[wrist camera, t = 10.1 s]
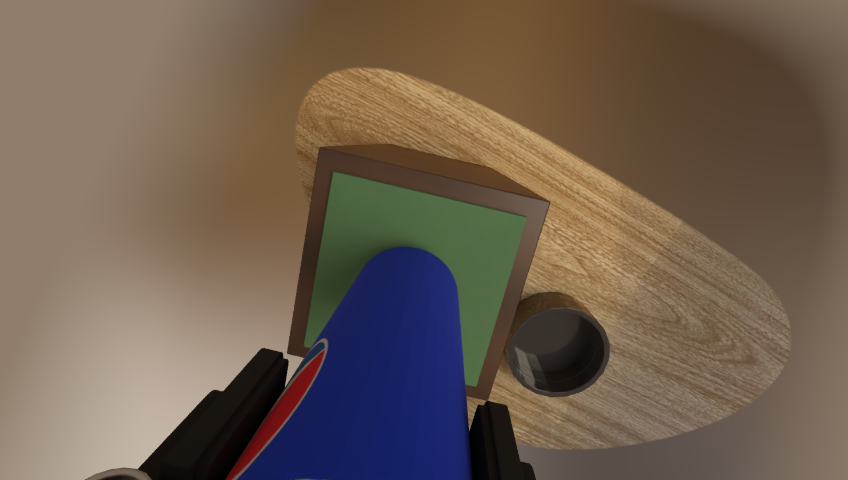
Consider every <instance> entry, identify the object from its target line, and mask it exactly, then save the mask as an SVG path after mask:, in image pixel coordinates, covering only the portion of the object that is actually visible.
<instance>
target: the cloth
mask: <svg viewBox="0 0 848 480" xmlns="http://www.w3.org/2000/svg"><path fill="white" fill-rule="evenodd" d="M526 221H527V217H526V216H523V215H519V214H515V213H511V212H506V211H502V210H498V209H494V208H489V207H485V206H481V205H477V204H473V203H468V202H464V201H460V200H456V199H451V198H447V197H443V196H439V195H435V194H430V193H426V192H422V191H418V190H414V189H409V188H405V187H401V186H397V185H392V184H388V183H384V182H380V181H376V180H371V179H367V178H363V177H359V176H355V175H350V174H346V173H342V172H338V171H334V172H333V175H332V181H331V186H330V192H329V198H328V204H327V210H326V216H325V222H324V228H323V234H322V240H321V246H320V252H319V258H318V264H317V270H316V275H315V281H314V287H313V293H312V299H311V305H310V311H309V317H308V323H307V329H306V335H305V341H304V347H308V348H311V347H312V345H313V344H314V342H315V341H316V339H317V338H318V336H319V335H320V333H321V331H322V330H323V328H324V327H325V325H326V324H327V322H328V321H329V319H330V318H331V316H332V315H333V313H334V311H335V310H336V308H337V307H338V305H339V304H340V302H341V301H342V299H343V298H344V296H345V295H346V293H347V292H348V290H349V288H350V287H351V285H352V284H353V282H354V281H355V279H356V278H357V276H358V275H359V273H360V272H361V270H362V269H363V267H364V266H365V265H366V263H367V262H368V261H369V260H370V259H372V258H373V257H374V256H376V255H377V254H379V253H381V252H383V251H385V250H388V249H391V248H395V247H414V248H419V249H422V250H425V251H428V252H430V253H431V254H433V255H435V256H436V257H438V258H439V259H440V260H442V261H443V262H444V264H445V265H446V266H447V267H448V268H449V270H450V271H451V272H452V275H453V277H454V279H455V281H456V285H457V289H458V298H459V311H460V324H461V336H462V349H463V362H464V374H465V384H466V385H470V386H474V387H476V386H477V382H478V379H479V376H480V373H481V369H482V366H483V363H484V359H485V356H486V353H487V349H488V346H489V343H490V340H491V336H492V333H493V330H494V326H495V323H496V320H497V316H498V313H499V310H500V307H501V303H502V300H503V297H504V293H505V290H506V287H507V283H508V280H509V277H510V274H511V270H512V267H513V264H514V260H515V257H516V254H517V250H518V247H519V244H520V241H521V237H522V234H523V231H524V227H525V224H526Z"/></svg>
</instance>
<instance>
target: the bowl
mask: <svg viewBox="0 0 848 480" xmlns="http://www.w3.org/2000/svg"><path fill="white" fill-rule="evenodd" d="M504 349H505V352H506V356H507V359H508V363H509V365H510V368H511V370H512V373H513V375H514V377H515V378H516V379H517V380H518V381H519V382H520V383H521V384H522V385H523V386H524V387H525V388H527V389H529V390H531V391H532V392H534V393H536V394H540V395H544V396H548V397H566V396H569V395H573V394H576V393H579V392H582V391H583V390H585V389H586V388H588V387H589V386H591V385H592V384H594V383H595V382H596V381H597V379H598V378H599V377H600V376H601V375H602V373H603V372H604V370H605V367H606V365H607V362H608V360H609V351H610V344H609V340H608V338H607V335H606V332H605V330H604V328H603V327H602V326H601V325H600V324H599V322H598V321H597V320H596V319H595V318H594V316H593V315H592V314H591V313H590V312H589V310H588V309H587V308H586V307H585V306H584V305H583V304H582V303H581V302H579V301H578V300H576V299H575V298H573V297H571V296H569V295H565V294H562V293H555V292H547V293H540V294H536V295H533V296H531V297H528V298H526V299H525V300H523V301H521V302H520V303H519V304H518V307H517V310H516V313H515V316H514V319H513V323H512V326H511V329H510V332H509V335H508V338H507V342H506V345H505V348H504Z"/></svg>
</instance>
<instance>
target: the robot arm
mask: <svg viewBox="0 0 848 480" xmlns="http://www.w3.org/2000/svg"><path fill="white" fill-rule="evenodd" d="M288 363H289V361H288V359H284V358H283V353H282V352H278V351H274V350H270V349H265V348H262V349H261V350H259V352H258V353H257V354H256V355H255V356H254V357H253V358H252V360H251V361H250V362H249V363H248V364H247V365H246V366H245V367H244V368H243V370H242V371H241V372H240V373H239V374H238V375H237V376H236V377H235V379H234V380H233V381H232V382H231V383H230V384H229V385H228V387H227V388H226V389H225V390H224V391H218V390H213V391H211V392H210V393H209V394H208V395H207V396H206V397H205V398H204V399H203V400H202V401H201V402H200V403H199V404H198V405H197V406H196V407H195V408H194V410H193V411H192V412H191V413H190V414H189V415H188V416H187V417H186V418H185V419H184V420H183V421H182V422H181V423H180V424H179V426H178V427H177V428H176V429H175V430H174V431H173V432H172V433H171V434H170V435H169V436H168V437H167V438H166V439H165V440H164V442H163V443H162V444H161V445H160V446H159V447H158V448H157V449H156V450H155V451H154V452H153V453H152V454H151V455H150V456H149V458H148V459H147V460H146V461H145V462H144V463H143V464H142V465H141V466H140V467H139V468H138V469H132V468H118V469H111V470H107V471H104V472H101V473H98V474H95V475H93V476H91V477H89V478H87V479H85V480H225V479H226V477H227V476H228V474H229V473H230V471H231V470H232V468H233V467H234V465H235V464H236V462H237V461H238V459H239V457H240V456H241V454H242V453H243V451H244V450H245V448H246V447H247V445H248V444H249V442H250V441H251V439H252V438H253V436H254V434H255V433H256V431H257V430H258V428H259V427H260V425H261V424H262V422H263V421H264V419H265V418H266V416H267V414H268V413H269V411H270V410H271V408H272V407H273V405H274V404H275V402H276V401H277V399H278V398H279V396H280V394H281V393H282V391H283V390H284V388H285V382H286V376H287V370H288ZM469 437H470V450H471V463H472V475H473V480H536V478H535V474H534V471H533V468H532V466H531V465H530V464H529V463H525V462H521V461H520V459H519V454H518V450H517V445H516V441H515V437H514V432H513V428H512V424H511V419H510V415H509V411H508V407H507V406H506V405H503V404H499V403H495V402H491V401H486V402H485V404H484V405H478V406H477V409H476V412H475V415H474V418H473V422H472V425H471V428H470V431H469Z"/></svg>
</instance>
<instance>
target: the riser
mask: <svg viewBox="0 0 848 480" xmlns="http://www.w3.org/2000/svg"><path fill="white" fill-rule="evenodd" d="M334 171H338V172H342V173H346V174H350V175H355V176H359V177H363V178H367V179H371V180H376V181H380V182H384V183H388V184H392V185H397V186H401V187H405V188H409V189H414V190H418V191H422V192H426V193H430V194H435V195H439V196H443V197H447V198H451V199H456V200H460V201H464V202H468V203H473V204H477V205H481V206H485V207H489V208H494V209H498V210H502V211H506V212H511V213H515V214H519V215H523V216H526V217H527V221H526V224H525V227H524V231H523V234H522V237H521V241H520V244H519V247H518V250H517V254H516V257H515V260H514V264H513V267H512V270H511V274H510V277H509V280H508V283H507V287H506V290H505V293H504V297H503V300H502V303H501V307H500V310H499V313H498V316H497V320H496V323H495V326H494V330H493V333H492V336H491V340H490V343H489V346H488V349H487V353H486V356H485V359H484V363H483V366H482V369H481V373H480V376H479V379H478V382H477V386H476V387H474V386H470V385H466V384H465V387H466V396H469V397H473V398H477V399H482V400H486V401H488V399H489V396H490V392H491V389H492V386H493V383H494V380H495V377H496V373H497V370H498V367H499V364H500V361H501V358H502V354H503V351H504V348H505V345H506V342H507V338H508V335H509V332H510V329H511V326H512V323H513V319H514V316H515V313H516V310H517V307H518V304H519V300H520V297H521V294H522V291H523V288H524V285H525V281H526V278H527V275H528V272H529V269H530V266H531V262H532V259H533V256H534V253H535V250H536V246H537V243H538V240H539V237H540V234H541V231H542V227H543V224H544V221H545V218H546V215H547V212H548V208H549V205H550V201H548V200H546V199H545V198H543V197H541V196H539V195H538V194H536V193H534V192H533V191H531V190H529V189H527V188H526V187H524V186H522V185H520V184H519V183H517V182H515V181H513V180H512V179H510V178H508V177H506V176H505V175H503V174H501V173H499V172H498V171H496V170H494V169H493V168H489V167H485V166H480V165H476V164H472V163H468V162H463V161H459V160H455V159H451V158H447V157H442V156H438V155H434V154H430V153H426V152H421V151H417V150H413V149H409V148H405V147H400V146H396V145H392V144H376V145H353V146H330V147H320V148H319V153H318V159H317V166H316V172H315V178H314V185H313V191H312V197H311V204H310V210H309V216H308V223H307V229H306V235H305V242H304V248H303V255H302V261H301V267H300V274H299V280H298V286H297V293H296V299H295V305H294V312H293V319H292V324H291V331H290V337H289V344H288V350H287V354H290V355H295V356H299V357H303V358H305V356H306V355H307V353H308V351H309V350H310V348H308V347H304V341H305V335H306V329H307V323H308V317H309V311H310V305H311V299H312V293H313V287H314V281H315V275H316V270H317V264H318V258H319V252H320V246H321V240H322V234H323V228H324V222H325V216H326V210H327V204H328V198H329V192H330V186H331V181H332V175H333V172H334Z"/></svg>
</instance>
